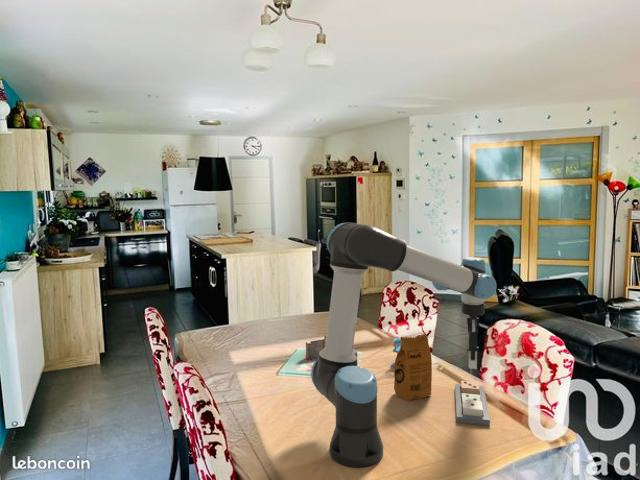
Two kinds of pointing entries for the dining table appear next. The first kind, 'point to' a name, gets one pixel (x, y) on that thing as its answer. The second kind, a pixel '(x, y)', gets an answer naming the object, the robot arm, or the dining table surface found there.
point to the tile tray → (466, 418)
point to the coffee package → (413, 368)
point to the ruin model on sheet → (315, 348)
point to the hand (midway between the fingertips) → (472, 367)
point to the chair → (396, 347)
